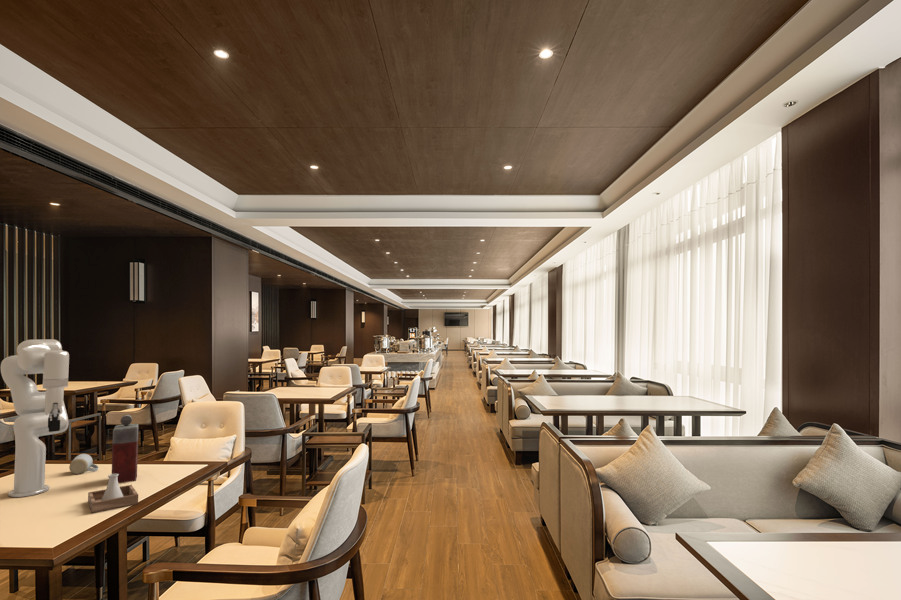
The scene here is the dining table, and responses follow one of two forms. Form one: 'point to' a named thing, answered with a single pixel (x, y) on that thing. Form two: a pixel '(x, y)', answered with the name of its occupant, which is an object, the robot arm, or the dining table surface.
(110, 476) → the flask
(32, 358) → the robot arm
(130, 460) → the red decanter
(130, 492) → the box
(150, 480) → the dining table surface
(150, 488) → the dining table surface
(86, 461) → the ceramic mug
